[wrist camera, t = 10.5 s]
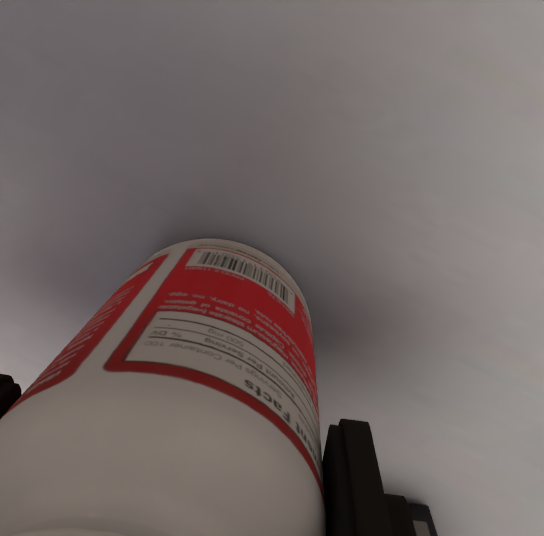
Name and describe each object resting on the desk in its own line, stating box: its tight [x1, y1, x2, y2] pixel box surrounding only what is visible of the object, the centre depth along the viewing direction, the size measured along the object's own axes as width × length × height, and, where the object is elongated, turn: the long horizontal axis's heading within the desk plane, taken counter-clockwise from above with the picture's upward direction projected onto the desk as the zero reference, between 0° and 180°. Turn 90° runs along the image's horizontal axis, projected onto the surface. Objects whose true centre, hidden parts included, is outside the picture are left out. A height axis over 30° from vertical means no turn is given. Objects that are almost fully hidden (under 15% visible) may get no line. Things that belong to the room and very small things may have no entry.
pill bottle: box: [0, 238, 326, 536], centre depth 10 cm, size 6×6×11 cm
